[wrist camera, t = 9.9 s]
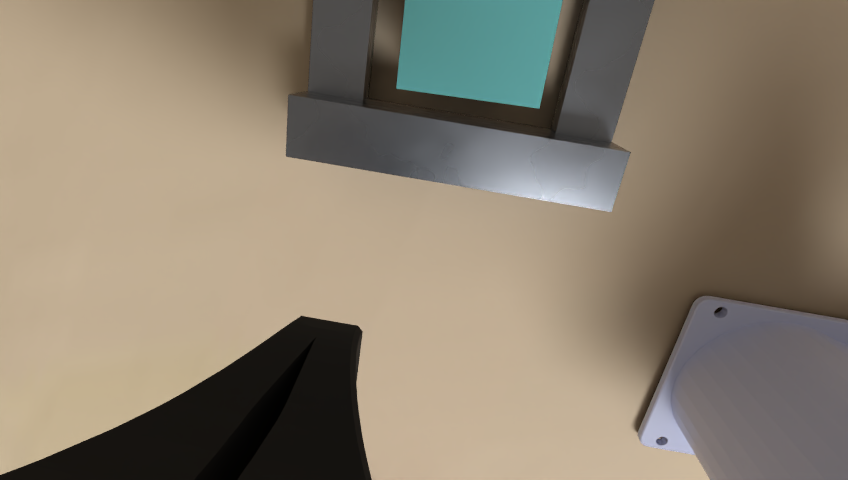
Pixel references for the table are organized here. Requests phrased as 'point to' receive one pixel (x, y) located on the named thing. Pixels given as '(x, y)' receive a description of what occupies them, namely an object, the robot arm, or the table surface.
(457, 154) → the port
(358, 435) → the robot arm
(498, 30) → the plug
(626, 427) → the table surface
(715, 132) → the table surface
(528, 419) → the table surface
